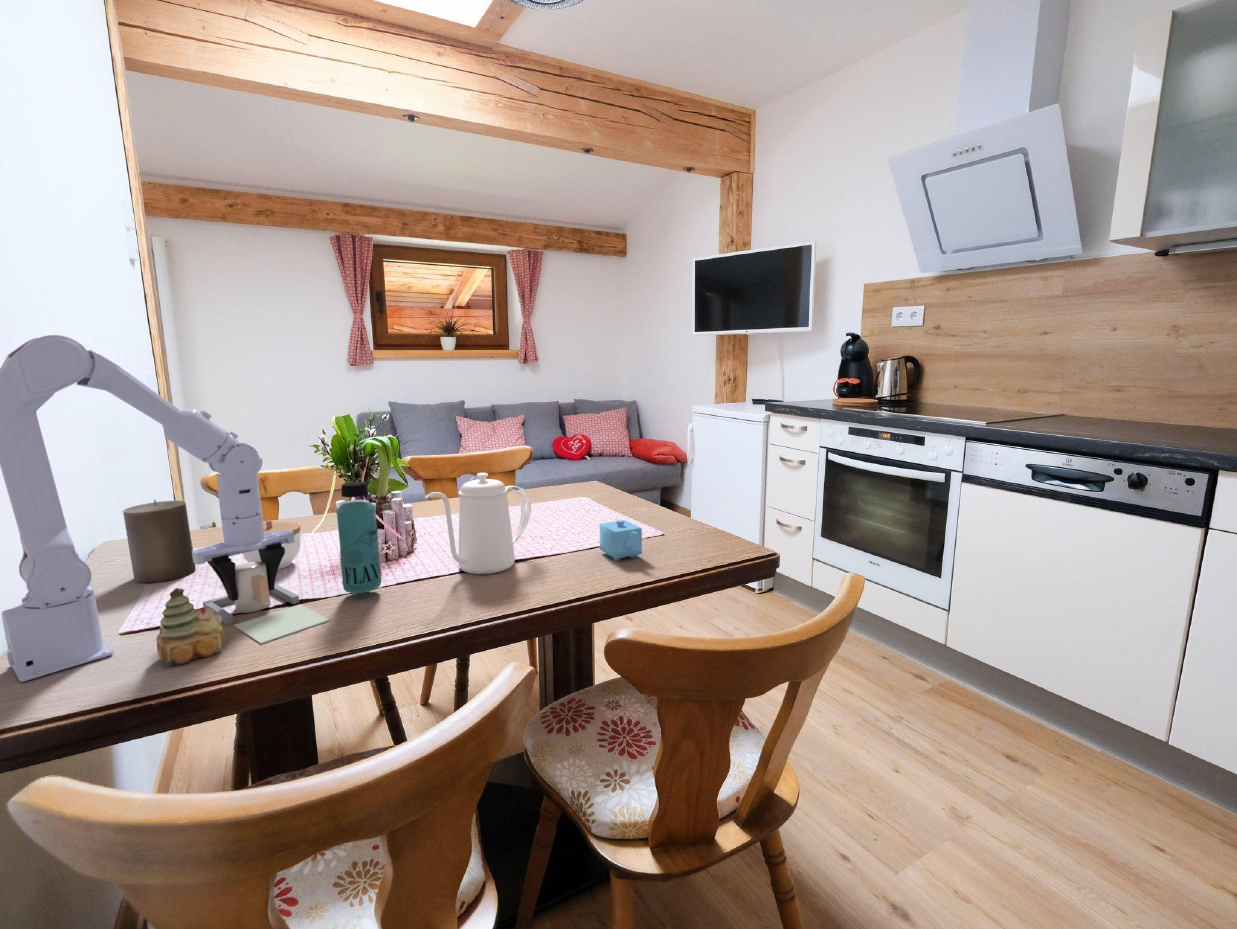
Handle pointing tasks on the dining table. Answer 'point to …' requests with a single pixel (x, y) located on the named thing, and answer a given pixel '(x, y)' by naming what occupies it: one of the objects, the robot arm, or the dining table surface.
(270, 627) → the pad
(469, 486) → the coffeepot
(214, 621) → the ornament
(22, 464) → the robot arm
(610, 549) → the teapot
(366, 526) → the beverage bottle
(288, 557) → the lidded jar
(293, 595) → the cradle
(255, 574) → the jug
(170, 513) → the pillar candle
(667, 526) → the dining table surface
